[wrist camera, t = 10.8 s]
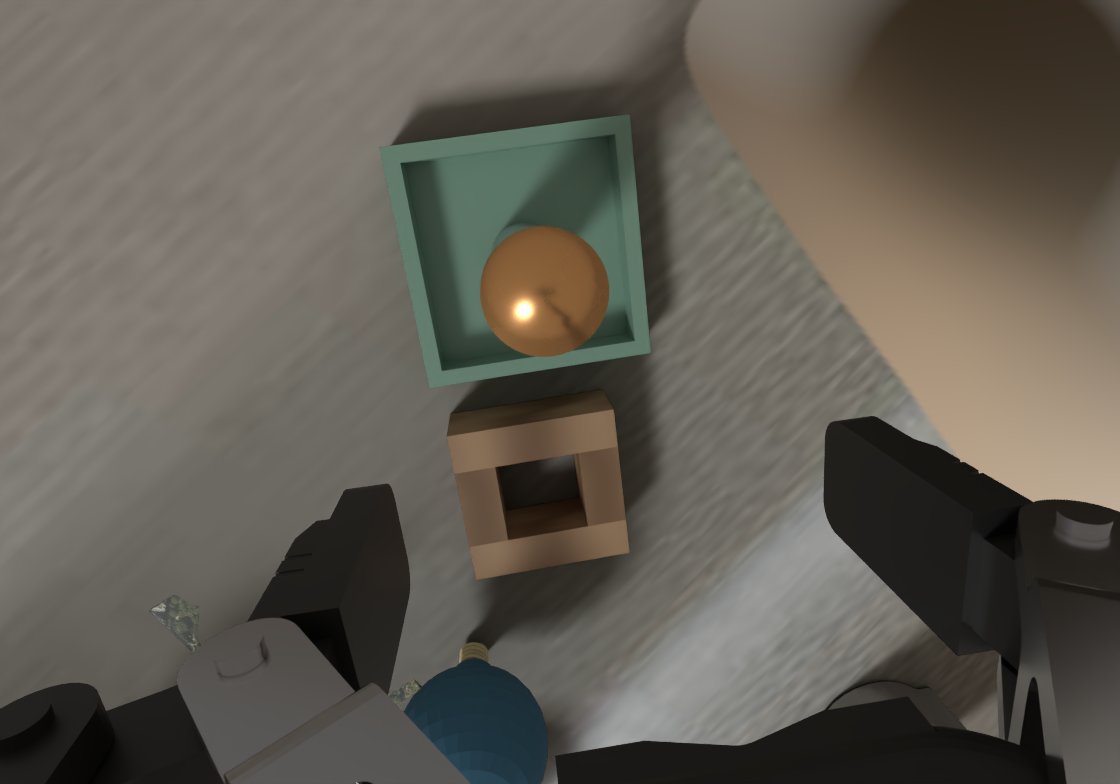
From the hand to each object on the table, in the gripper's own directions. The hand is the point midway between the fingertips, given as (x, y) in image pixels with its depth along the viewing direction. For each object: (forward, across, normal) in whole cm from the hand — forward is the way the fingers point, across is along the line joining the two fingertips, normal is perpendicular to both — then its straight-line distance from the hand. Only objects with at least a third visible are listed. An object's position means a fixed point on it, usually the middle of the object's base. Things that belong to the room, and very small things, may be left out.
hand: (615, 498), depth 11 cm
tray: (+25, 0, -2) cm, 25 cm away
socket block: (+25, +1, +11) cm, 27 cm away
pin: (+24, 0, -2) cm, 24 cm away
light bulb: (+25, +7, +23) cm, 35 cm away
